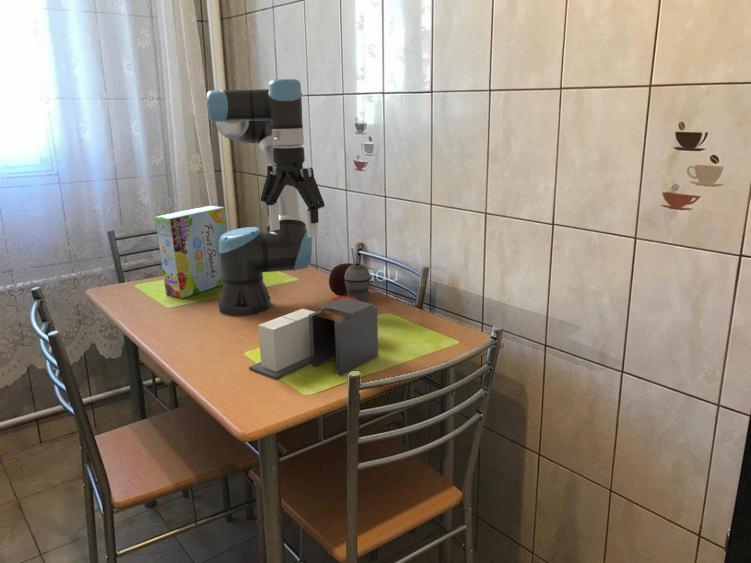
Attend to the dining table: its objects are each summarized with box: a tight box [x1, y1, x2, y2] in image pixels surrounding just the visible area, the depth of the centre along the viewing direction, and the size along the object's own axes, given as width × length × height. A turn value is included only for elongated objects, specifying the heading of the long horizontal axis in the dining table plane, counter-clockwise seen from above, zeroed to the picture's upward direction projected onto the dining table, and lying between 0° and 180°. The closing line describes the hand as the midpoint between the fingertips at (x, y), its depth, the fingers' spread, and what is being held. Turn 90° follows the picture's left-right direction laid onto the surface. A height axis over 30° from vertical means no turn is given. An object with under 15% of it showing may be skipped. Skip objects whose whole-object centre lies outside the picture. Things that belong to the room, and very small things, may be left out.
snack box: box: [154, 205, 228, 299], centre depth 201 cm, size 22×9×26 cm, turn 144°
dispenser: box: [308, 297, 379, 377], centre depth 144 cm, size 9×13×13 cm
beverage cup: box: [344, 247, 371, 303], centre depth 171 cm, size 7×7×20 cm
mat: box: [248, 356, 311, 380], centre depth 146 cm, size 9×16×1 cm, turn 141°
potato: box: [328, 262, 353, 297], centre depth 193 cm, size 11×13×10 cm
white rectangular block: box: [257, 308, 315, 372], centre depth 145 cm, size 5×14×10 cm, turn 141°
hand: (293, 233), depth 157 cm, fingers open, 13 cm apart
